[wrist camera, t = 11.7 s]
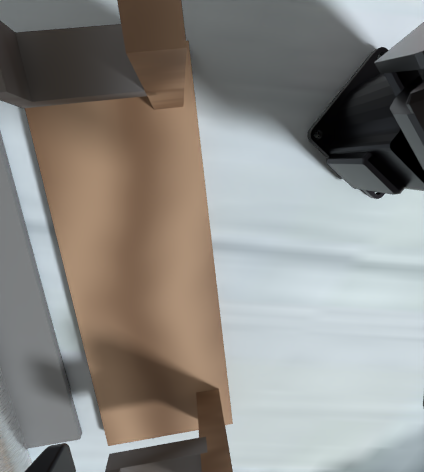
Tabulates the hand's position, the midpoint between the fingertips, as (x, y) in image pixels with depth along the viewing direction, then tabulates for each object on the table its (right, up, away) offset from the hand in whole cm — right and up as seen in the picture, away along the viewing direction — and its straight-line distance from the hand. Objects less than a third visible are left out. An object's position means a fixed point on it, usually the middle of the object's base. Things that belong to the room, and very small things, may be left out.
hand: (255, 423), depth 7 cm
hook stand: (-5, +3, +12) cm, 14 cm away
